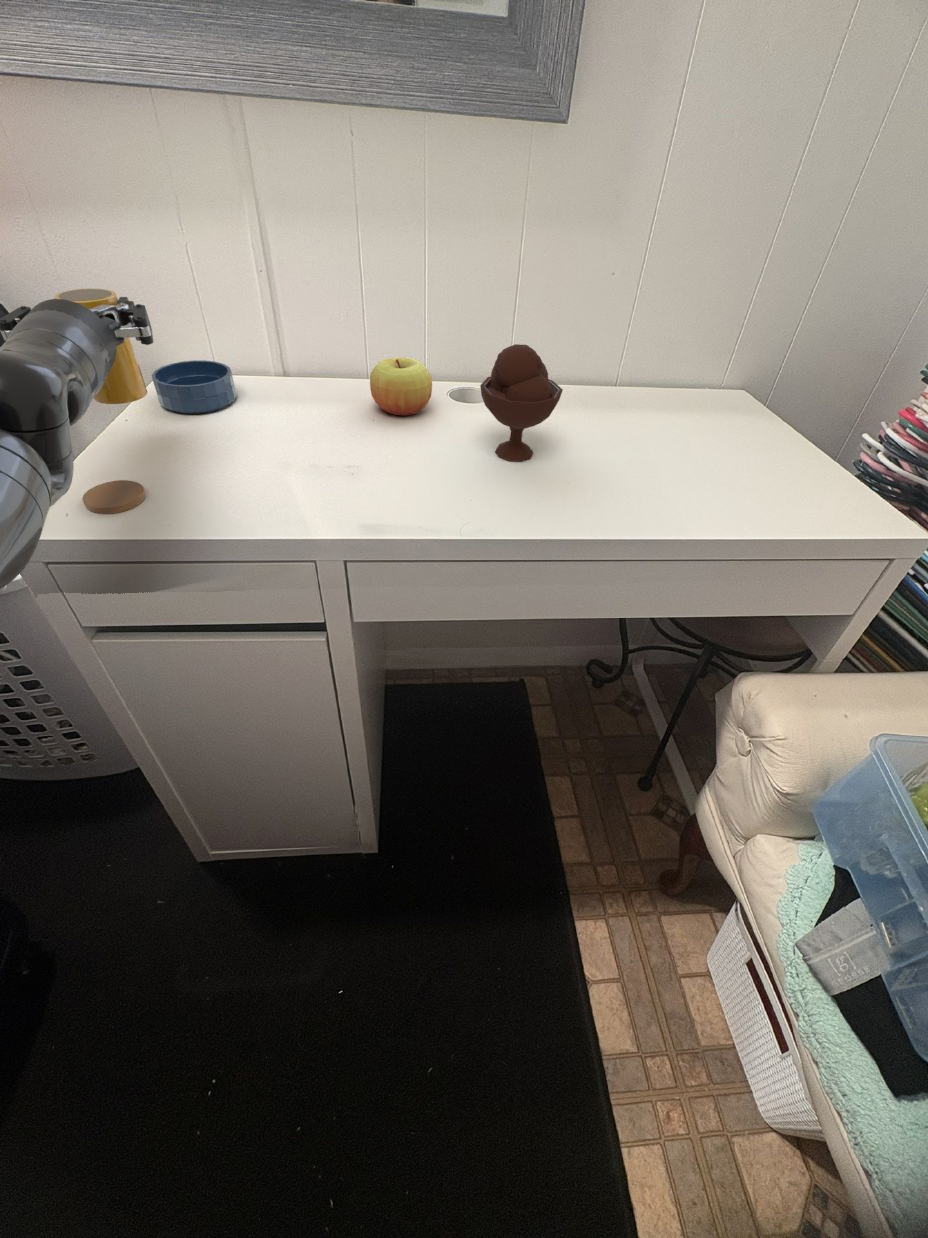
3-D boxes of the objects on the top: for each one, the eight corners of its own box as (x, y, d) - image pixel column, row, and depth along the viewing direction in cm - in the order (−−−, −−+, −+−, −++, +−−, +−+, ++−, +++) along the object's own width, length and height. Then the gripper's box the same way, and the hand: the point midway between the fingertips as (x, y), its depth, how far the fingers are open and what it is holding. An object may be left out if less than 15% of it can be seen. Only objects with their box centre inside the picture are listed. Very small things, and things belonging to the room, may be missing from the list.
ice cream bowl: (555, 472, 79) (575, 359, 69) (475, 468, 78) (483, 354, 68) (549, 439, 86) (565, 333, 76) (476, 435, 86) (482, 328, 76)
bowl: (163, 420, 85) (154, 389, 82) (158, 392, 93) (149, 364, 90) (242, 410, 89) (235, 381, 86) (231, 384, 97) (225, 357, 94)
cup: (93, 407, 67) (52, 303, 60) (93, 389, 71) (55, 289, 63) (149, 400, 69) (116, 299, 62) (145, 383, 73) (114, 286, 66)
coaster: (84, 518, 65) (81, 512, 65) (85, 491, 69) (82, 485, 69) (147, 507, 67) (145, 501, 67) (144, 482, 72) (142, 476, 71)
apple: (366, 419, 89) (362, 366, 83) (376, 396, 96) (373, 346, 90) (429, 423, 89) (429, 370, 83) (434, 399, 96) (434, 349, 90)
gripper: (132, 309, 53) (152, 269, 65) (-49, 312, 49) (8, 269, 61) (157, 390, 58) (172, 339, 70) (-5, 398, 54) (39, 343, 66)
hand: (95, 306), depth 65 cm, fingers closed on cup, 6 cm apart
